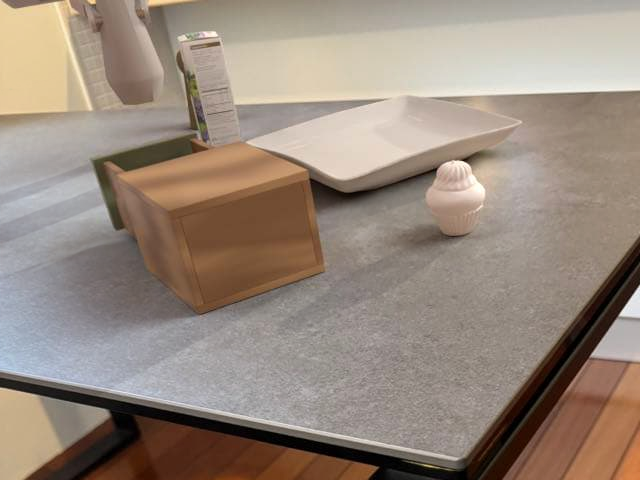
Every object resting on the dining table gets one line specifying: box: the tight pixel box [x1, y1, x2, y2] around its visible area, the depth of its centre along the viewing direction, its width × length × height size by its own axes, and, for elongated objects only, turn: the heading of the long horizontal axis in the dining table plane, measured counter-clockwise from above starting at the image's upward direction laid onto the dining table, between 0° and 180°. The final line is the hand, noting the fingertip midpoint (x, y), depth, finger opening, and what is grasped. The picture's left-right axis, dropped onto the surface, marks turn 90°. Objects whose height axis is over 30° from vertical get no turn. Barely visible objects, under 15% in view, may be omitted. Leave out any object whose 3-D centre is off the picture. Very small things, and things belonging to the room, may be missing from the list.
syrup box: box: [177, 30, 243, 147], centre depth 116 cm, size 6×6×14 cm
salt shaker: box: [94, 0, 165, 106], centre depth 80 cm, size 6×6×13 cm
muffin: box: [425, 160, 486, 237], centre depth 82 cm, size 6×6×7 cm
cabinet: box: [116, 140, 326, 315], centre depth 80 cm, size 16×14×10 cm
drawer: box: [89, 130, 216, 240], centre depth 91 cm, size 19×12×8 cm, turn 32°
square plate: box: [244, 94, 523, 194], centre depth 106 cm, size 27×27×4 cm
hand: (121, 23), depth 79 cm, fingers closed on salt shaker, 3 cm apart
